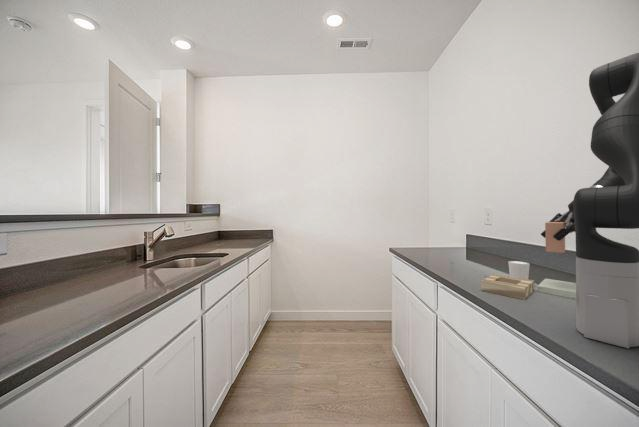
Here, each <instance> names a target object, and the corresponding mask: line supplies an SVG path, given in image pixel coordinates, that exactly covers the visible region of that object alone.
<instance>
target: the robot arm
mask: <svg viewBox="0 0 639 427" xmlns="http://www.w3.org/2000/svg"><path fill="white" fill-rule="evenodd" d="M588 86H589V91H590V95H591V97H592V99H593V101H594V104H595V105H596V108H597V109H598V111H599V114H600V115H601V116H600V117H599V118H598V119H597V120H596V121H595V123H594V125H593V127H592V129H591V130H592V131H591V138H590V150H591V152H592V153H593V155H594V156H595V157H596V158H597V159H598V160H600V161H601V162H603V163H604V164H605V165H607V167H608V168H607V170H605V172H604V173H603V175H602V176H601V177H600V178H599V179H598V180H596V181H595V182H594V183H593V184H592V185H590V186H589V187H583V188H580V189H578V190H577V191H576V192H575V194H574V196H573V200H572V201H571V202H569V203H568V205H567V207H568V211H567V212H564V213H563V214H562V213H560V212H558V213H557V214H556V215H555V216H553V218H552V219H550V220H549V221H548V222H565V225H564V227H563V228H564V229H560V230H559V231H558V232H557V233H556V234H554V235H553V237H554V238H555V239H556V240H559V241H560V240H561V239H563V238H564V237H565V238H566V236H567V235H569V234H573V232H574V233H575V283H576V299H575V311H576V312H575V313H576V314H575V316H576V331H578V332H579V333H581V334H582V335H583V337H585V338H586V339H591V340H595V341H599V342H602V343H606V344H610V345H614V346H617V347H621V348H625V349H630V348H634V347H639V249H638V248H636V247H634V246H632V245H629V244H625V243H621V242H618V241H615V240H612V239H610V238H607V237H605V236H603V235H601V233H599V232H598V231H597V229H617V230H618V229H621V230H622V229H624V230H626V229H627V230H631V229H632V230H633V229H636V230H637V229H639V52H635V53H633V54H629V55H626V56H624V57H622V58H621V57H620V58H619V59H616V60H614V61H611V62H608V63H606V64H603V65H601V66H598V67H596V68H594V69H593V70H592V71H591V72H590V75H589V78H588ZM621 95H622V96H621ZM618 96H621V97H620V99H618V100H617V101H616V100H614V98H615V97H618ZM540 236H542V237H543V239H546V237H545V230H543V231H542V232H541V233H540Z"/></svg>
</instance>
